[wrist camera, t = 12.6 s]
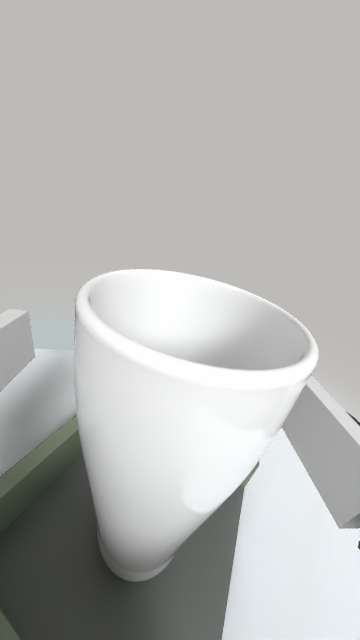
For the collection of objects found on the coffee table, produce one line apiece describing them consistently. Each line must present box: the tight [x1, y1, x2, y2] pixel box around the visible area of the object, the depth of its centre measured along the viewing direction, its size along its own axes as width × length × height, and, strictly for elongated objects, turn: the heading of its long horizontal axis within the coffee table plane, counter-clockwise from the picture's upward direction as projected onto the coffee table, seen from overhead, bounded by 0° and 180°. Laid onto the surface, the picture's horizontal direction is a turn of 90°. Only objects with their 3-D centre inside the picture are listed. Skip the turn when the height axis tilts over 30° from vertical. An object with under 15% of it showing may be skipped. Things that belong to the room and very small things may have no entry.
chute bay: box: [0, 415, 259, 640], centre depth 12 cm, size 13×13×4 cm
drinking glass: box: [74, 269, 319, 582], centre depth 9 cm, size 7×7×15 cm
